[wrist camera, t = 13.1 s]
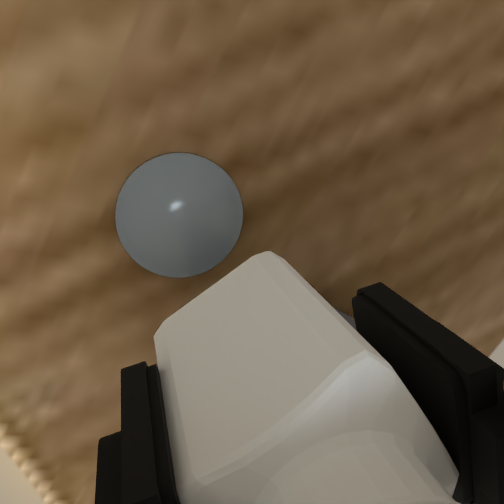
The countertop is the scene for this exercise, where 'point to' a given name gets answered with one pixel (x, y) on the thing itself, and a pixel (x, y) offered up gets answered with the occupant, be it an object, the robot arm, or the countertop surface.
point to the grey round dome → (178, 215)
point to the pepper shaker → (289, 401)
